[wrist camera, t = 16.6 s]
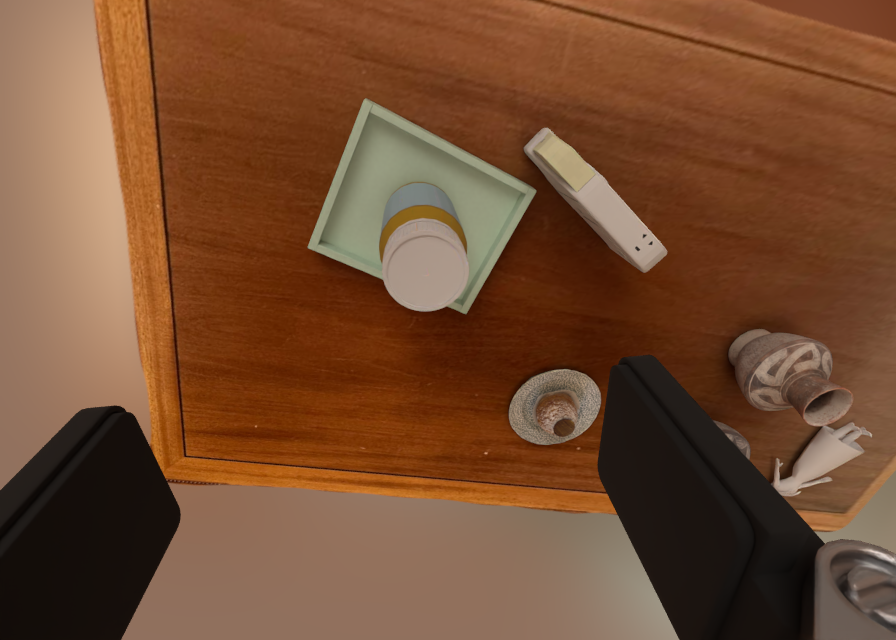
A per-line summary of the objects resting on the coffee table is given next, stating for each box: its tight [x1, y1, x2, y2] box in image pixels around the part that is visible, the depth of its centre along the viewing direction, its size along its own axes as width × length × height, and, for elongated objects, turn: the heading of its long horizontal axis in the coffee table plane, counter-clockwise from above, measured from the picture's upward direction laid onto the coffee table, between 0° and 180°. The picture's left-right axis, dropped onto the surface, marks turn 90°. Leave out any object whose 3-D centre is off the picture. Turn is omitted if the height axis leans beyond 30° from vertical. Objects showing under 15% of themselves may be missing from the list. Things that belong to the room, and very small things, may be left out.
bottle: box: [379, 182, 469, 311], centre depth 38 cm, size 7×7×15 cm
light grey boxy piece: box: [524, 128, 667, 273], centre depth 42 cm, size 11×3×15 cm
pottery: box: [713, 329, 853, 460], centre depth 55 cm, size 11×25×12 cm, turn 156°
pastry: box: [509, 369, 601, 445], centre depth 56 cm, size 12×12×5 cm
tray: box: [308, 98, 537, 314], centre depth 44 cm, size 18×15×2 cm
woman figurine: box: [771, 422, 872, 496], centre depth 66 cm, size 12×4×18 cm
